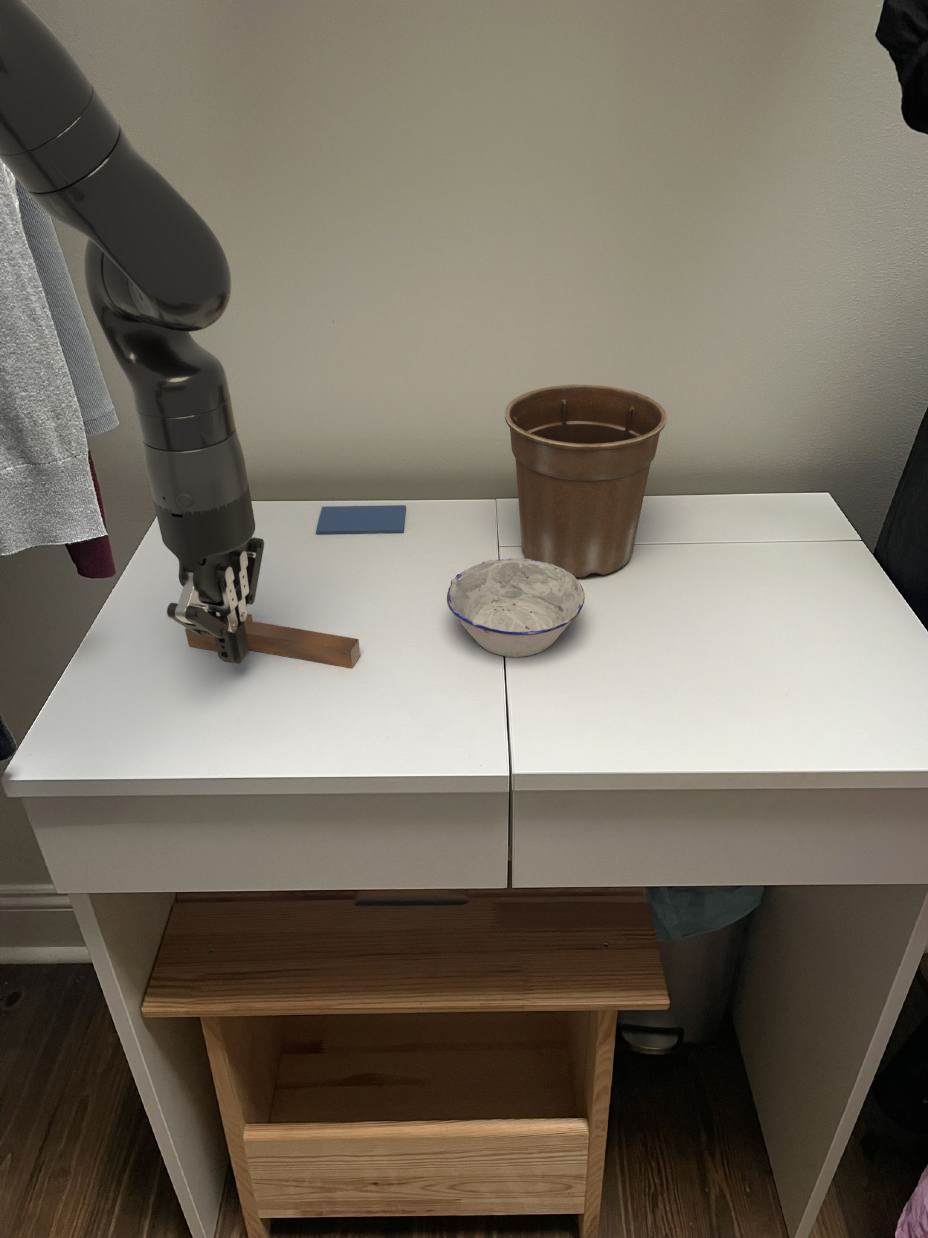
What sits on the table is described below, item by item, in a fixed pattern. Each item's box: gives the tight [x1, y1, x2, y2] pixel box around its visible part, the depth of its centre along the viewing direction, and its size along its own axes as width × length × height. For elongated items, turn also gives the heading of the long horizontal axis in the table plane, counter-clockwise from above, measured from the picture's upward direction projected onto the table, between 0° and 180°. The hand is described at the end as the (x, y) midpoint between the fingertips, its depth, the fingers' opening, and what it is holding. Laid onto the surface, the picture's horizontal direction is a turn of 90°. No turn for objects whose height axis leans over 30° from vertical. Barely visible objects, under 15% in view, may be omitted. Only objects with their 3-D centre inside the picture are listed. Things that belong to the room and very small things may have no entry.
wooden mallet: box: [184, 613, 361, 669], centre depth 90 cm, size 16×4×2 cm, turn 73°
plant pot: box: [504, 383, 668, 578], centre depth 100 cm, size 16×16×16 cm
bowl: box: [446, 558, 586, 658], centre depth 90 cm, size 13×13×5 cm
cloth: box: [315, 504, 407, 535], centre depth 110 cm, size 10×6×1 cm, turn 90°
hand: (234, 658), depth 85 cm, fingers closed
